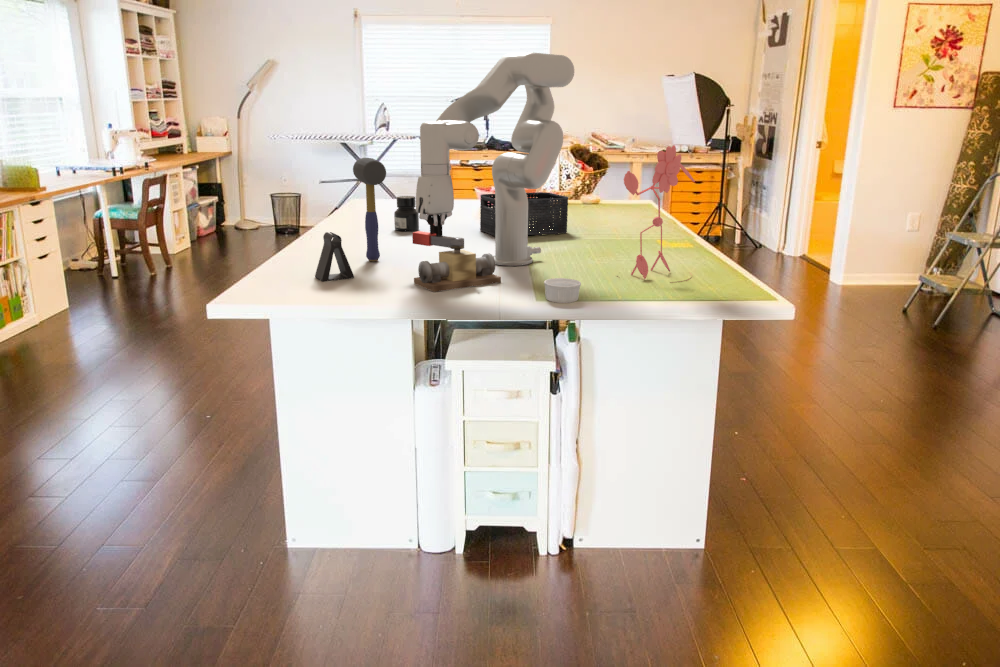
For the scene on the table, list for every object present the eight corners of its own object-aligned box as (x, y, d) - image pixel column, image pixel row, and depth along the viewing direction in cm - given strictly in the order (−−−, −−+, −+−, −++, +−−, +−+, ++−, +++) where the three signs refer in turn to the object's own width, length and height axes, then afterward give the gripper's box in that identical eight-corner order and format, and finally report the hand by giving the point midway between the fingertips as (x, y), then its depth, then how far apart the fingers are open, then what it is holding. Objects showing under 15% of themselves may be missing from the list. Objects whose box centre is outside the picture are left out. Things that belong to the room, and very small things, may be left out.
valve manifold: (479, 274, 212) (479, 242, 210) (500, 282, 204) (501, 248, 201) (414, 283, 202) (413, 249, 199) (434, 292, 193) (433, 256, 190)
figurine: (609, 278, 208) (618, 145, 197) (665, 265, 225) (676, 142, 214) (656, 290, 197) (668, 149, 186) (711, 275, 214) (725, 146, 203)
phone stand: (321, 281, 203) (318, 236, 200) (314, 277, 208) (312, 233, 205) (354, 278, 208) (352, 233, 204) (346, 273, 213) (344, 230, 209)
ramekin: (577, 294, 192) (578, 277, 190) (582, 304, 183) (583, 286, 182) (542, 295, 191) (542, 277, 190) (545, 304, 183) (545, 286, 181)
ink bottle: (391, 228, 287) (390, 196, 283) (414, 227, 290) (413, 195, 287) (399, 232, 278) (398, 199, 275) (422, 231, 282) (421, 198, 278)
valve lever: (467, 248, 200) (466, 237, 200) (458, 250, 198) (457, 239, 197) (420, 241, 210) (420, 230, 209) (411, 243, 207) (411, 232, 206)
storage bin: (546, 226, 295) (547, 190, 291) (570, 234, 278) (572, 196, 274) (477, 231, 284) (477, 194, 280) (498, 239, 267) (498, 200, 263)
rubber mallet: (391, 263, 226) (387, 159, 217) (366, 266, 223) (361, 159, 214) (379, 256, 236) (375, 156, 228) (355, 258, 233) (350, 156, 225)
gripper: (446, 168, 211) (447, 234, 216) (403, 171, 200) (405, 241, 206) (465, 169, 206) (466, 238, 211) (422, 173, 195) (424, 244, 201)
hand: (436, 239), depth 208 cm, fingers closed
